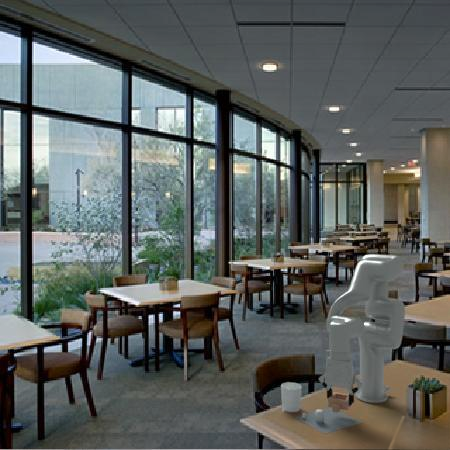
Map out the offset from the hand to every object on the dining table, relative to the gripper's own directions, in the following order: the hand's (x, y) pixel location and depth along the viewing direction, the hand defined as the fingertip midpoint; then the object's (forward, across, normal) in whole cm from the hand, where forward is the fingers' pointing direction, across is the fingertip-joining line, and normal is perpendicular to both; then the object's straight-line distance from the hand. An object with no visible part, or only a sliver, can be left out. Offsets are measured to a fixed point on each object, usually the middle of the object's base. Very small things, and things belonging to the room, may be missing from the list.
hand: (340, 402), depth 176 cm
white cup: (+7, -19, -2) cm, 20 cm away
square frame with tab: (+1, 0, -2) cm, 2 cm away
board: (+7, -3, -5) cm, 9 cm away
